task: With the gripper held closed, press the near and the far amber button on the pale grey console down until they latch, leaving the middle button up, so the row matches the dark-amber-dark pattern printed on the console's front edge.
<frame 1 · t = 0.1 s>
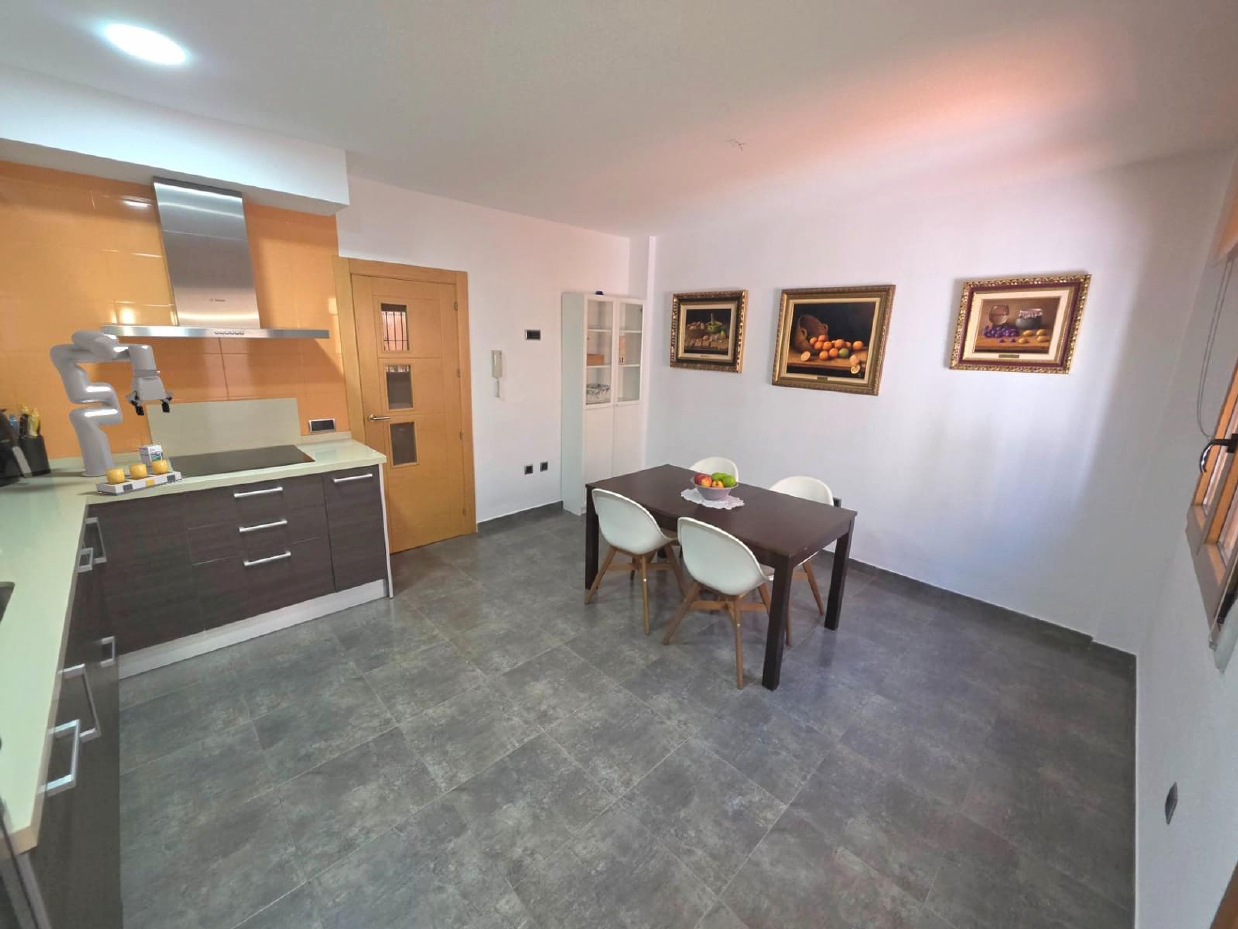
hand: (154, 413, 214), 31 cm above the countertop, fingers open, 9 cm apart
button mid: (138, 472, 213), point 6 cm above the countertop, slide at 0.0 cm
syrup box: (156, 476, 232), on the countertop
button near: (115, 476, 206), point 6 cm above the countertop, slide at 0.0 cm
console: (141, 486, 215), on the countertop
button far: (159, 467, 221), point 6 cm above the countertop, slide at 0.0 cm
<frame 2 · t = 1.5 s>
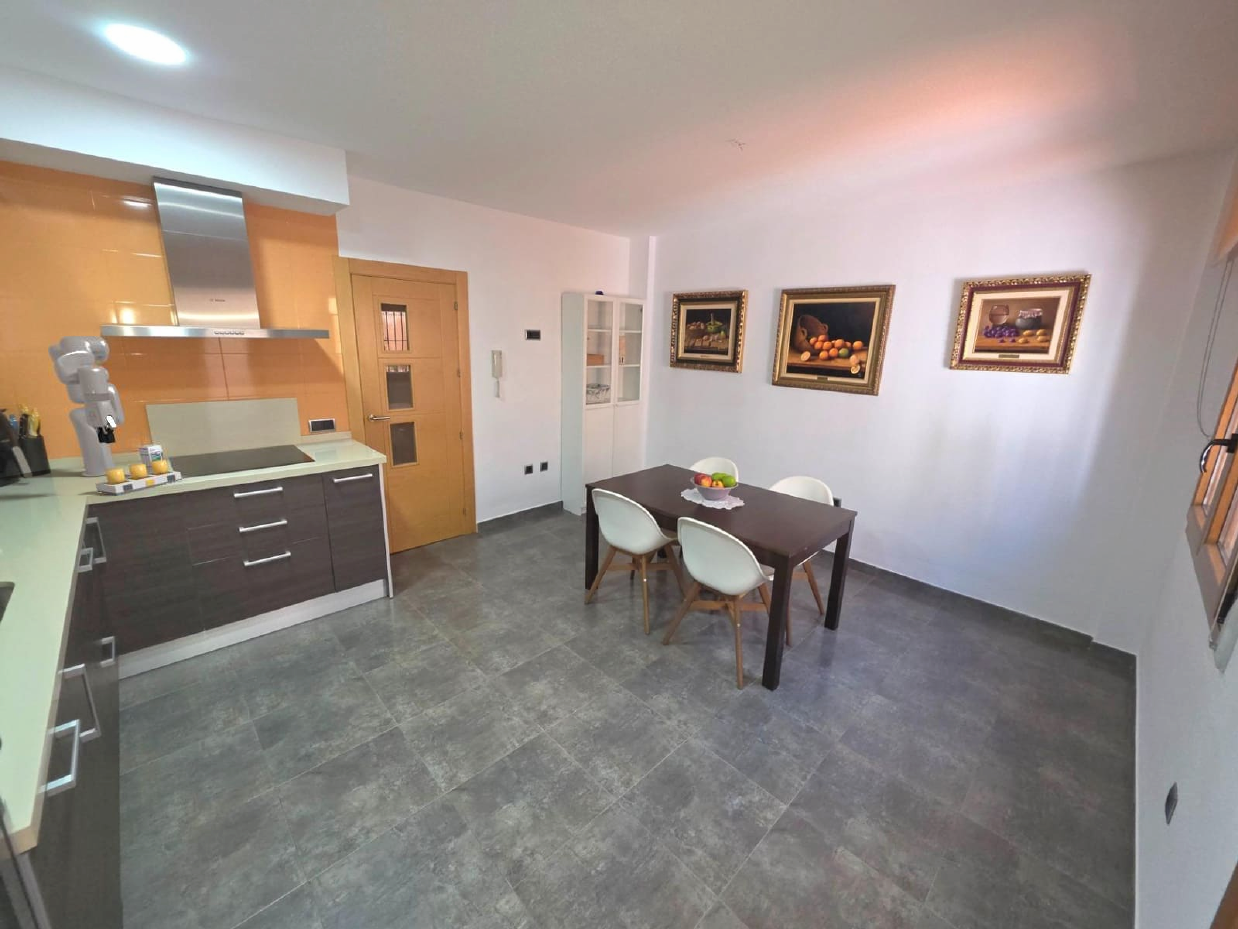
hand: (107, 442, 202), 21 cm above the countertop, fingers closed
nothing on the countertop moved.
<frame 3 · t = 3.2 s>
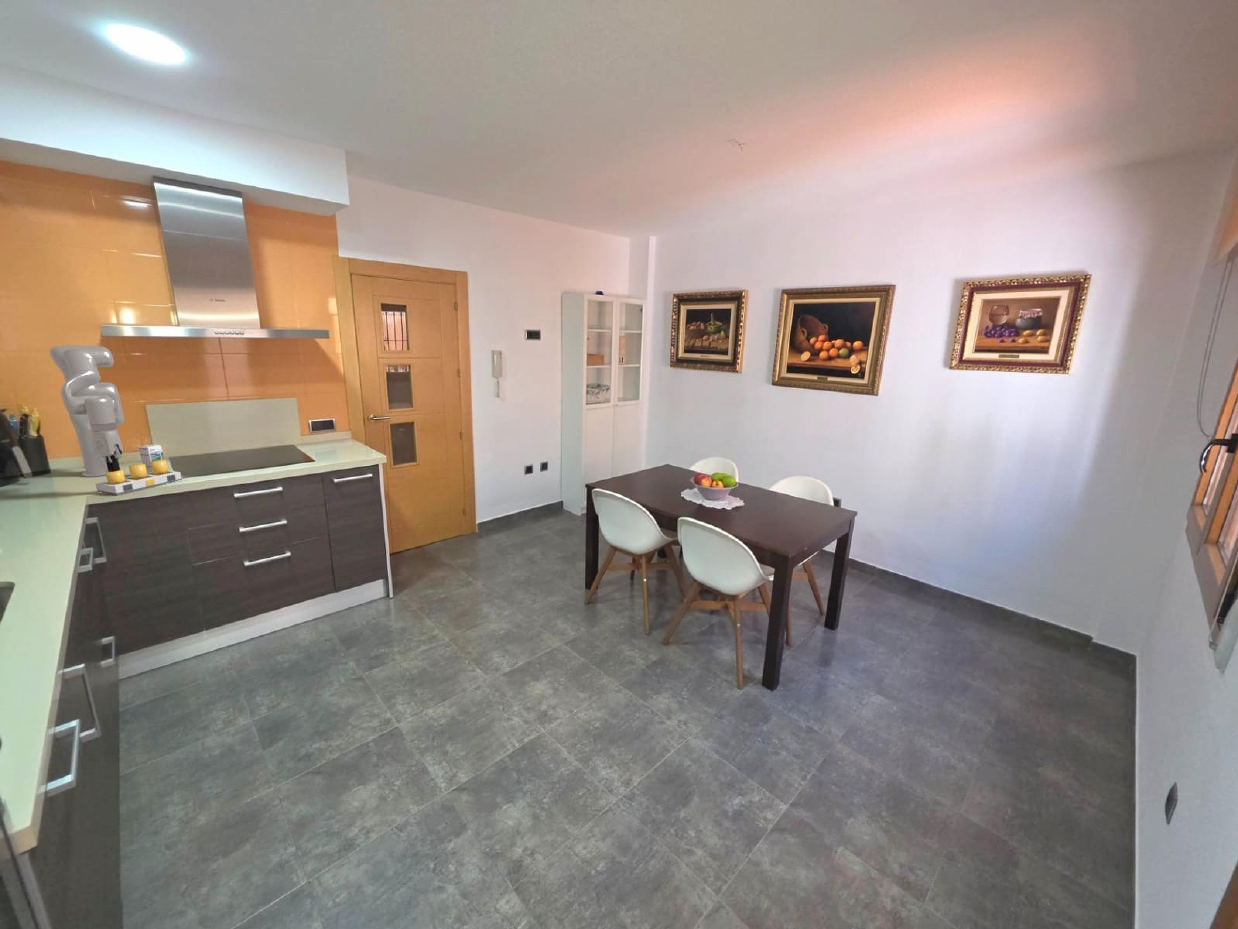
hand: (114, 471, 205), 9 cm above the countertop, fingers closed
button near: (116, 477, 206), point 6 cm above the countertop, slide at 0.6 cm, touching gripper
everything else where it was.
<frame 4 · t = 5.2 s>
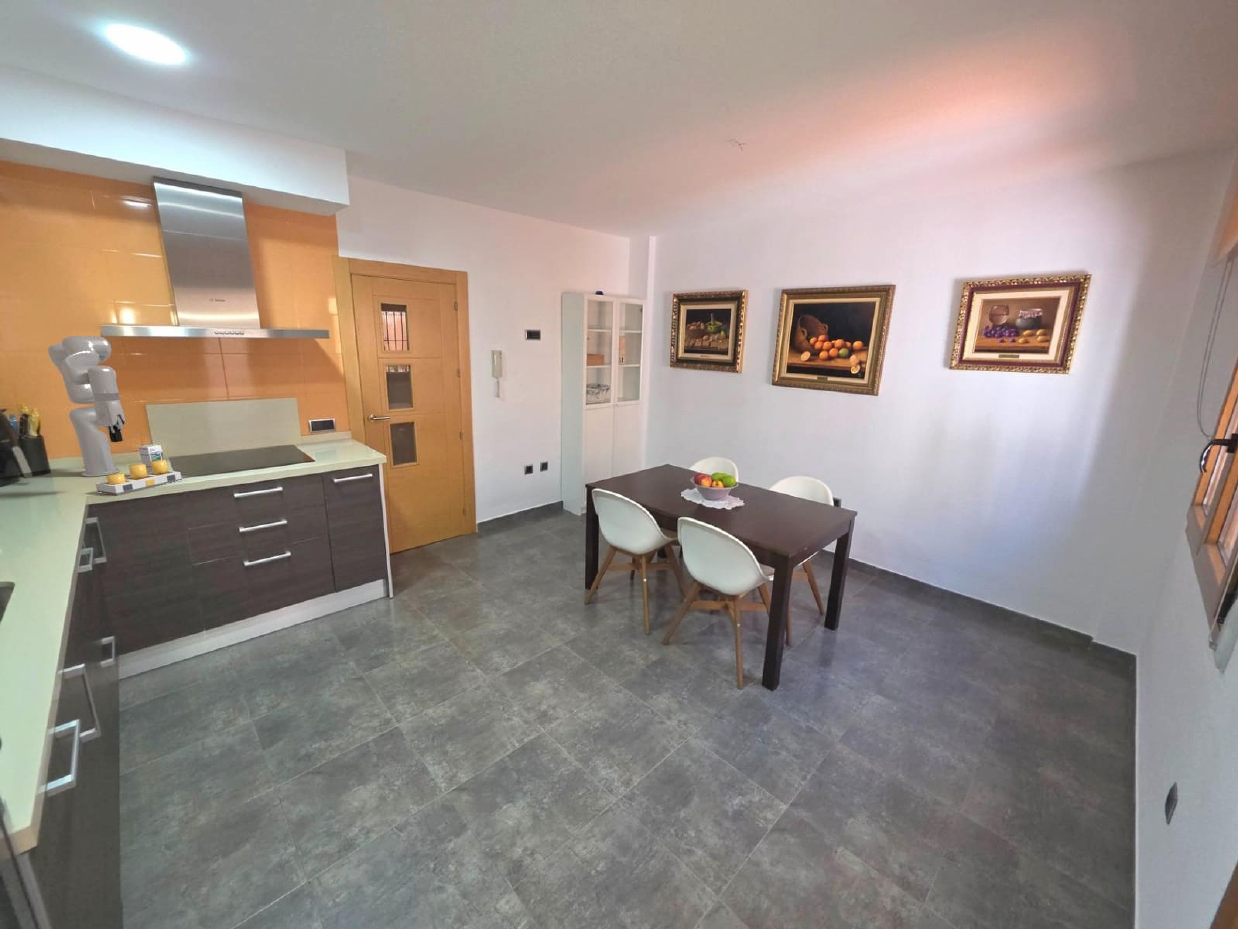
hand: (117, 441, 205), 21 cm above the countertop, fingers closed
button near: (116, 481, 206), point 4 cm above the countertop, slide at 2.3 cm
everything else where it was.
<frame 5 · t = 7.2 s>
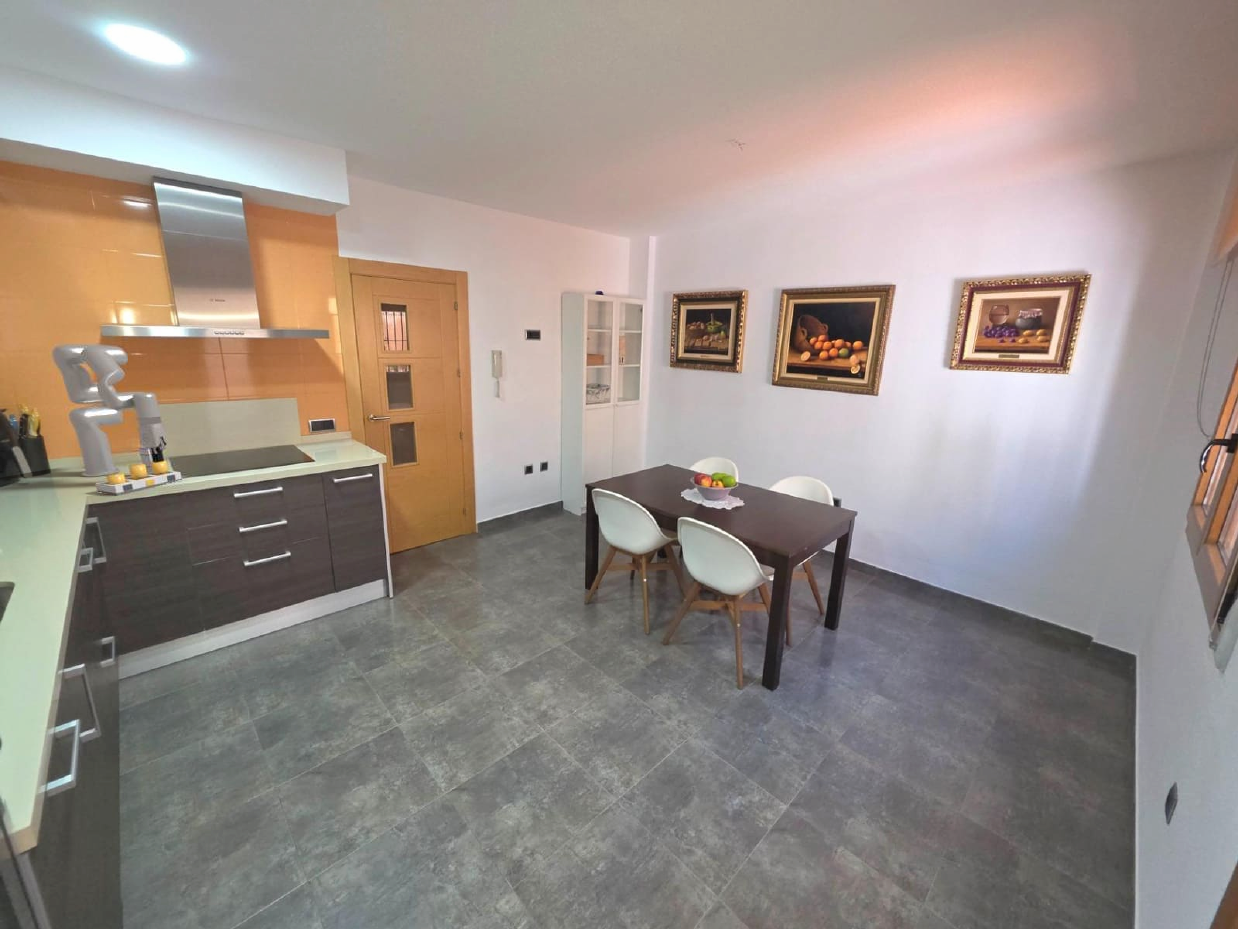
hand: (158, 461, 220), 9 cm above the countertop, fingers closed
button far: (159, 468, 221), point 6 cm above the countertop, slide at 0.2 cm, touching gripper
everything else where it was.
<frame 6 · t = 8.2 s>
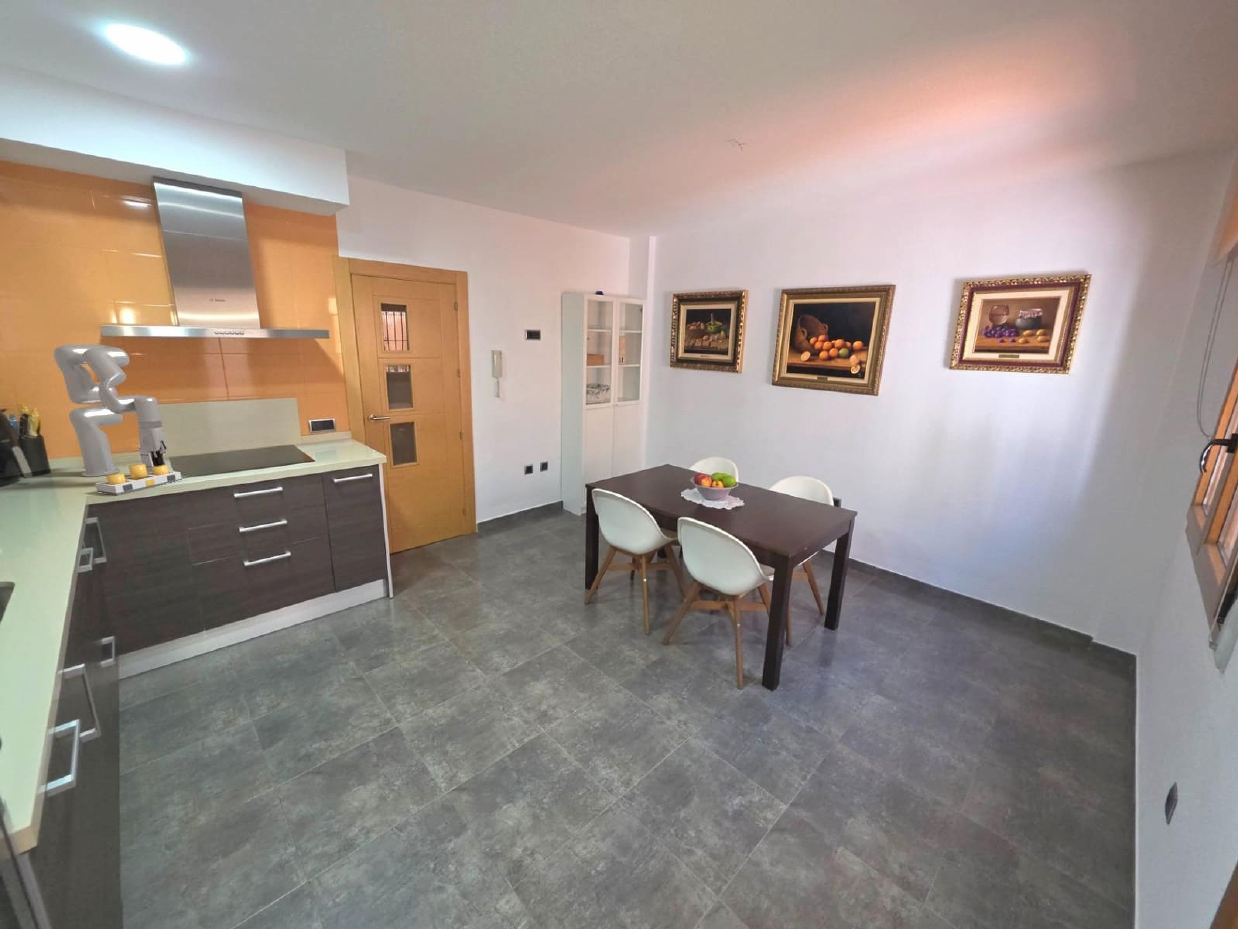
hand: (158, 465, 221), 8 cm above the countertop, fingers closed
button far: (160, 472, 221), point 4 cm above the countertop, slide at 2.3 cm
everything else where it was.
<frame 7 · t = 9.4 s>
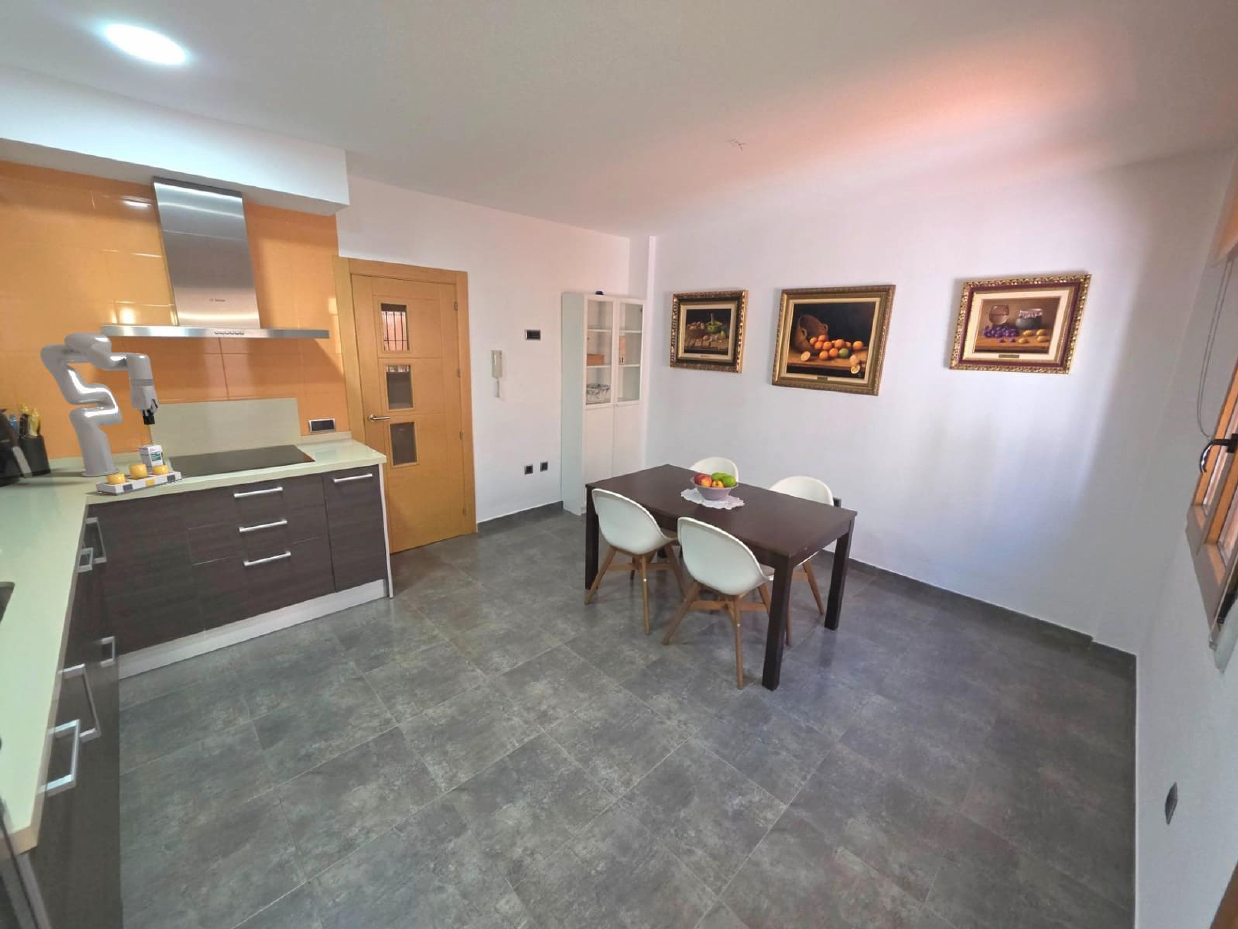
hand: (149, 424, 219), 26 cm above the countertop, fingers closed
nothing on the countertop moved.
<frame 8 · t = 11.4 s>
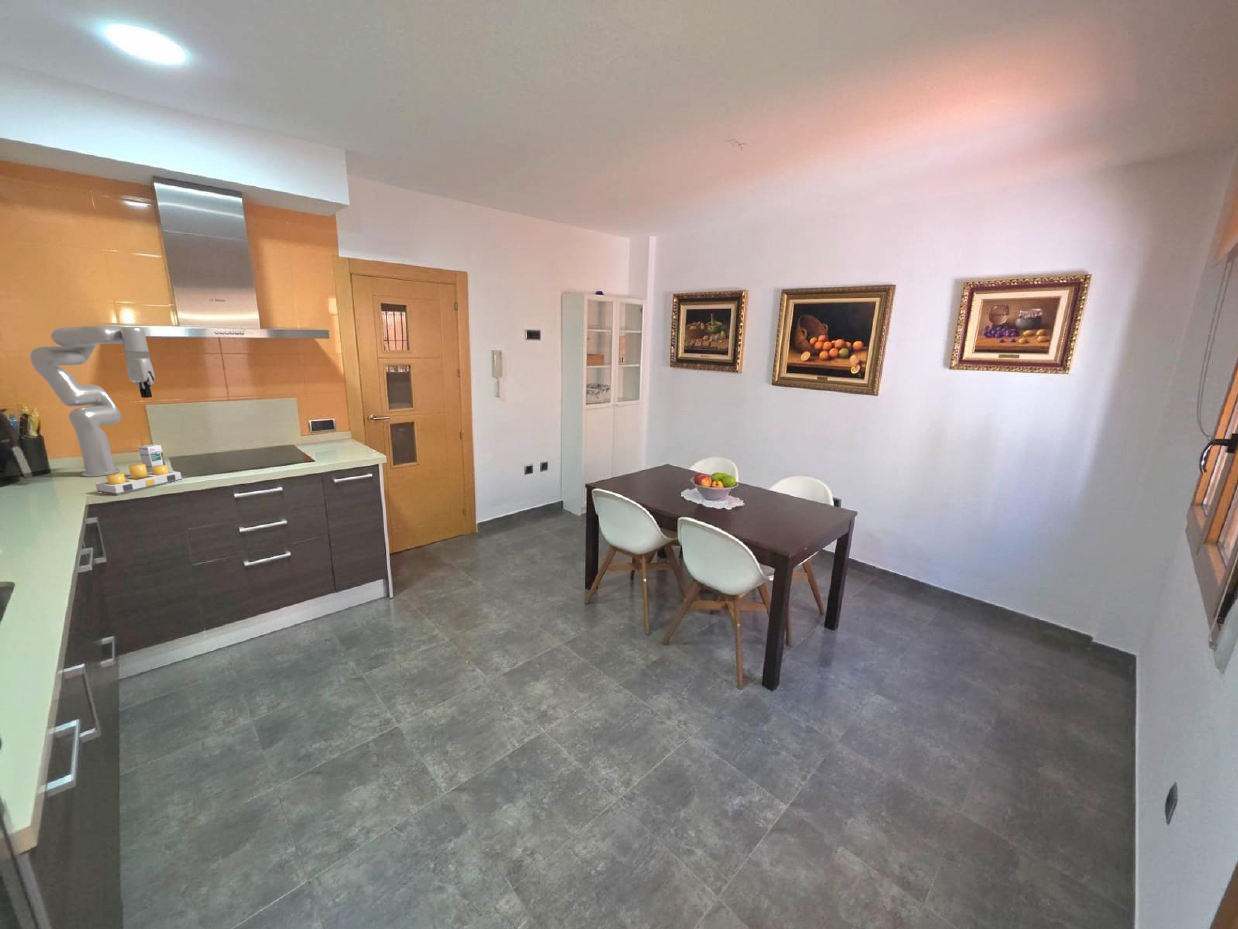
hand: (146, 397, 221), 37 cm above the countertop, fingers closed
nothing on the countertop moved.
at the end: button near slide at 2.3 cm; button far slide at 2.3 cm; button mid slide at 0.0 cm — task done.
